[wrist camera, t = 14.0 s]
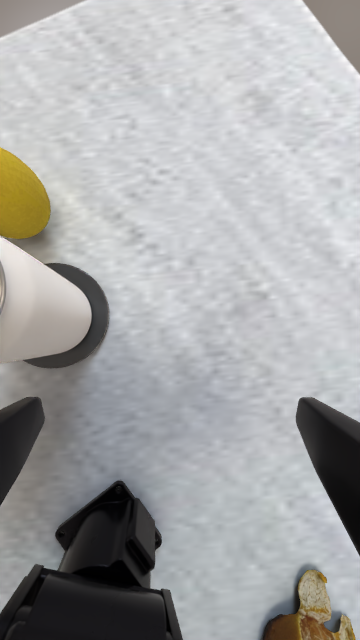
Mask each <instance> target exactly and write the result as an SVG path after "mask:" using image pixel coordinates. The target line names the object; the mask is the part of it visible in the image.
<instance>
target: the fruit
mask: <svg viewBox="0 0 360 640" xmlns="http://www.w3.org/2000/svg"><path fill="white" fill-rule="evenodd" d="M325 583H327V579H326V577H324V575H323V574H322V573H321V572H317V571H315V570H307V571H306V572H305V574H304V575H303V576H302V578H301V579H300V581H299V584H298V591H299V598H300V602H301V603H300V608H299V610H298V612H297V613H296V614H289V615H282V614H280V615H278V616H277V617H276V618H274V619H272V620H270V621H269V622H268V624H267V626H266V628H265V632H264V636H263V640H355V635H354V633H353V629H352V626H351V622H350V619H349V618H348V617H347V616H344V615H343V614H342V617H341V618H340V620H341V623H340V629H339V631H338V632H336V633H333V632H331V631H329V630H328V629H327V628H325V627H324V624H323V623H324V622H325V621H328V620H330V618H331V607H330V599H329V597H328V595H327V593H326V589H325Z"/></svg>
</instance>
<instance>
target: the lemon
mask: <svg viewBox="0 0 360 640" xmlns="http://www.w3.org/2000/svg"><path fill="white" fill-rule="evenodd" d="M50 212H51V210H50V201H49V198H48V195H47V193H46V190H45V188H44V186H43V184H42V183H41V181H40V180H39V179H38V177H37V176H36V174H35V173H34V172H33V171H32V170H31V169H30V168H29V167H28V166H27V165H26V164H25V163H23V162H22V161H21V160H20V159H19V158H17V157H16V156H15V155H13V154H12V153H10V152H8V151H6V150H4V149H2V148H1V147H0V235H1V236H4V237H7V238H15V239H23V238H29V237H32V236H34V235H36V234H38V233H39V232H41V231H42V230H43V229H44V228H45V226H46V225H47V223H48V221H49V217H50Z"/></svg>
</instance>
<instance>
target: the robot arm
mask: <svg viewBox="0 0 360 640" xmlns="http://www.w3.org/2000/svg"><path fill="white" fill-rule="evenodd" d="M44 419H45V417H44V412H43V407H42V402H41V399H40V398H38V397H26V398H24V399H22V400H20V401H17V402H15V403H13V404H11V405H9V406H7V407H5V408H3V409H1V410H0V505H1V504H2V502H3V500H4V499H5V497H6V495H7V494H8V492H9V490H10V488H11V487H12V485H13V483H14V482H15V480H16V478H17V477H18V475H19V473H20V471H21V469H22V468H23V466H24V464H25V462H26V460H27V458H28V456H29V453H30V451H31V449H32V447H33V445H34V443H35V441H36V439H37V437H38V434H39V432H40V430H41V428H42V426H43V424H44ZM296 423H297V426H298V429H299V431H300V434H301V436H302V439H303V441H304V444H305V446H306V449H307V451H308V454H309V456H310V459H311V461H312V464H313V466H314V468H315V470H316V472H317V474H318V476H319V478H320V480H321V482H322V484H323V486H324V488H325V490H326V492H327V494H328V496H329V498H330V500H331V502H332V503H333V505H334V507H335V509H336V511H337V513H338V515H339V517H340V519H341V521H342V523H343V525H344V527H345V529H346V531H347V532H348V534H349V536H350V538H351V540H352V542H353V544H354V546H355V548H356V550H357V552H358V554H359V556H360V423H359V422H358V421H356V420H354V419H352V418H350V417H348V416H346V415H344V414H343V413H341V412H339V411H337V410H335V409H333V408H331V407H330V406H328V405H326V404H324V403H322V402H320V401H318V400H317V399H315V398H312V397H302V398H300V399H299V402H298V408H297V413H296ZM118 486H120V487H121V489H120V490H118V489H117V488H116V487H118ZM61 531H64V532H65V533H61ZM55 536H56V539H57V540H58V541H59V543H60V544H61V546H62V547H63V548H64V550H65V553H64V555H63V558H62V560H61V563H60V565H59V568H58V570H57V571H56V570H51V569H46V568H44V566H43V565H38V564H35V565H34V567H33V568H32V570H31V571H30V573H29V574H28V576H25V577H24V579H23V580H22V582H21V583H20V585H19V586H18V588H17V589H16V591H15V592H14V594H13V595H12V597H11V598H10V600H9V601H8V603H7V604H6V606H5V607H4V609H3V610H2V612H1V613H0V640H183V638H182V634H181V631H180V627H179V623H178V619H177V616H176V612H175V608H174V604H173V601H172V597H171V593H170V590H167V589H161V591H160V590H155V589H150V571H152V570H153V569H154V566H155V550H156V549H157V548H159V547H160V545H161V543H162V539H161V534H160V533H159V532H158V530H157V529H156V527H155V521H154V520H153V518H152V517H151V515H150V514H149V512H148V511H147V510H146V508H145V507H144V505H143V504H142V503H141V501H140V500H139V499H138V498H135V497H134V496H133V495H132V493H131V492H130V490H129V489H128V488H127V486H126V485H125V483H124V482H123V481H117V482H115V483H114V484H112V485H111V486H110V487H109V488H107V489H106V490H105V491H103V492H102V493H101V494H100V495H98V496H97V497H96V498H94V499H93V500H92V501H91V502H89V503H88V504H87V505H86V506H84V507H83V508H82V509H80V510H79V511H78V512H77V513H75V514H74V515H73V516H71V517H70V518H69V519H68V520H66V521H65V522H64V523H62V524H61V525H60V526H59V527H58V529H57V531H56V533H55ZM155 539H158V541H155Z"/></svg>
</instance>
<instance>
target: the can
mask: <svg viewBox="0 0 360 640" xmlns="http://www.w3.org/2000/svg"><path fill="white" fill-rule="evenodd" d="M91 317H92V314H91V307H90V304H89V301H88V299H87V298H86V296H85V295H84V293H83V292H82V291H81V290H80V289H79V288H78V287H76V286H75V285H74V284H72V283H71V282H69V281H68V280H67V279H65V278H64V277H62V276H61V275H59V274H58V273H56V272H55V271H53V270H52V269H50V268H49V267H47V266H46V265H44V264H43V263H41V262H40V261H38V260H37V259H35V258H34V257H32V256H31V255H29V254H28V253H26V252H25V251H23V250H22V249H20V248H19V247H17V246H16V245H14V244H12V243H11V242H9V241H7V240H6V239H4V238H2V237H1V236H0V364H2V363H8V362H13V361H19V360H25V359H31V358H37V357H42V356H48V355H53V354H58V353H62V352H65V351H68V350H70V349H72V348H73V347H75V346H76V345H77V344H79V343H80V342H81V341H82V340H83V338H84V337H85V336H86V334H87V332H88V330H89V327H90V324H91Z"/></svg>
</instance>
